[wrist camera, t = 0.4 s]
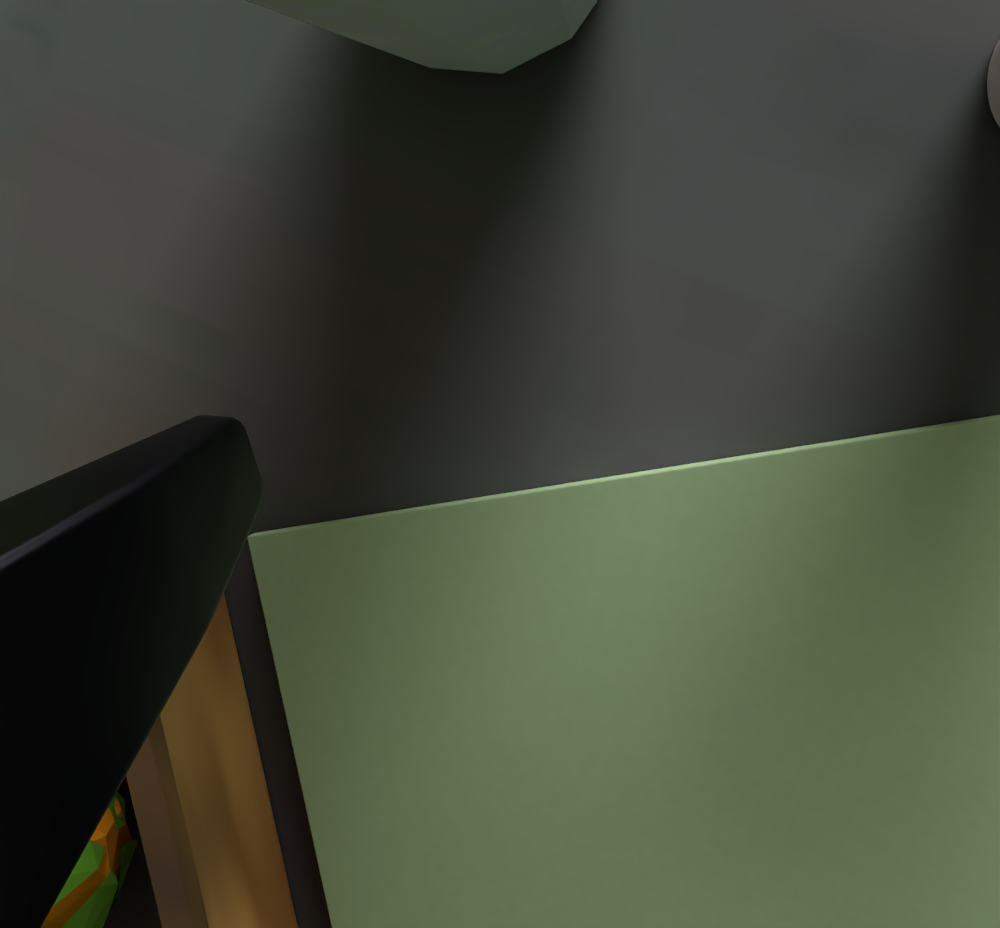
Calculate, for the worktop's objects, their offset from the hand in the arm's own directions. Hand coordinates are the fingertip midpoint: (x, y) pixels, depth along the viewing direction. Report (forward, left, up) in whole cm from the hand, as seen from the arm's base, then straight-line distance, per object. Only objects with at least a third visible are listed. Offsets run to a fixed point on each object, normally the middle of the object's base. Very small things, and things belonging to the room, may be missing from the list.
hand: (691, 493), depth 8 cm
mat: (-10, +1, -14) cm, 17 cm away
